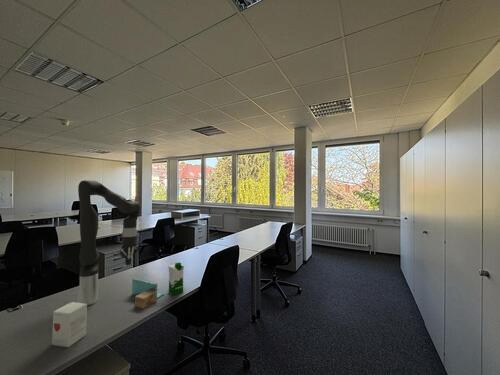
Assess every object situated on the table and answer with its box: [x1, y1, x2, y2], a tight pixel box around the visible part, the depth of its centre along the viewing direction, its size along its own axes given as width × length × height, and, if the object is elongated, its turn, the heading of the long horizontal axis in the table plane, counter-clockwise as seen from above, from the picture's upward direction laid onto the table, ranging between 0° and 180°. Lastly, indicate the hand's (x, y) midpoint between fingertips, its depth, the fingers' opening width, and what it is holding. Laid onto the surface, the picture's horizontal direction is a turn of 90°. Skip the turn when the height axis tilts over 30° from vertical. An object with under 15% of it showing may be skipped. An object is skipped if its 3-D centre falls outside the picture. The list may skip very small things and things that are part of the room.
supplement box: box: [51, 301, 88, 348], centre depth 100 cm, size 9×9×15 cm
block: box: [134, 290, 158, 309], centre depth 133 cm, size 10×7×6 cm
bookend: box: [131, 278, 165, 300], centre depth 144 cm, size 8×20×10 cm, turn 68°
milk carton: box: [168, 262, 185, 296], centre depth 149 cm, size 9×9×20 cm
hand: (128, 264), depth 127 cm, fingers closed
